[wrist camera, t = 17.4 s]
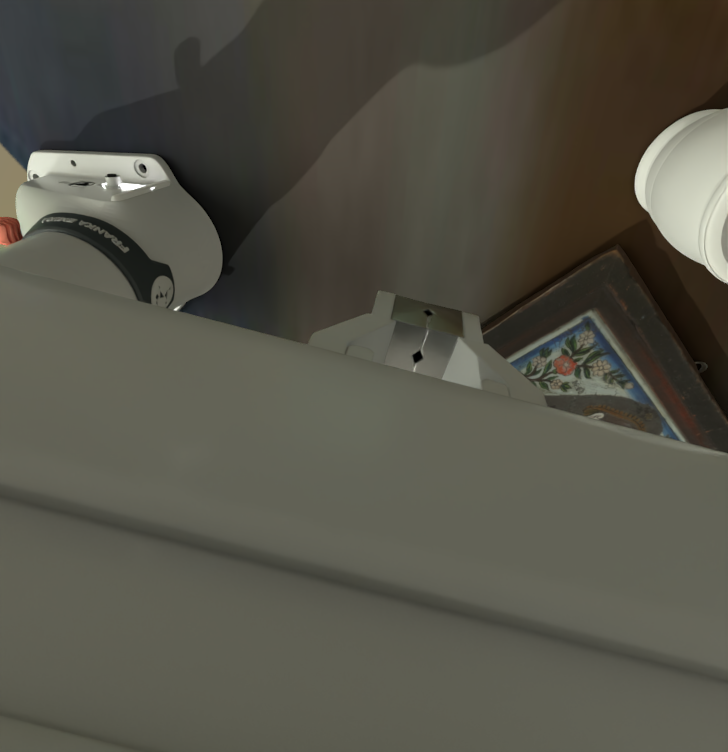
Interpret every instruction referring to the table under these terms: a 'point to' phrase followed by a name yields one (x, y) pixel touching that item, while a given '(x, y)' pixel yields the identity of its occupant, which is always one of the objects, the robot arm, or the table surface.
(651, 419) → the religious icon
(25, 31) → the table surface
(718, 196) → the jar
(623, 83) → the table surface
